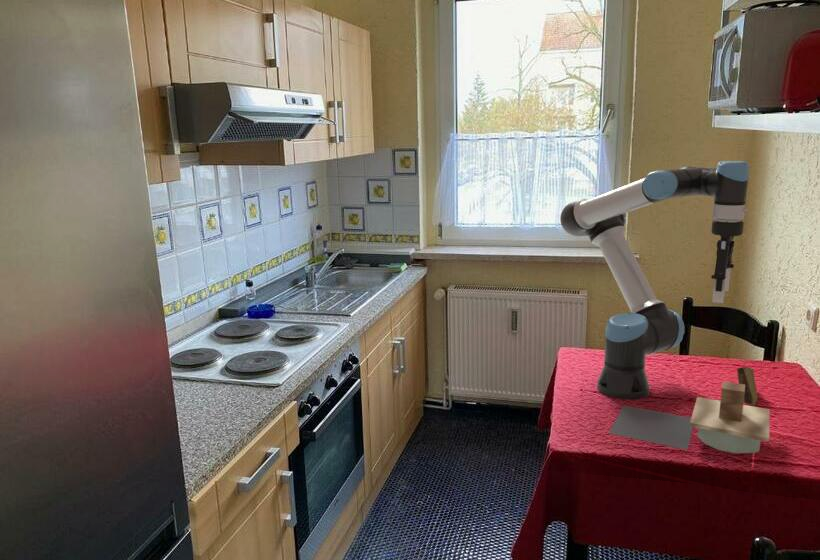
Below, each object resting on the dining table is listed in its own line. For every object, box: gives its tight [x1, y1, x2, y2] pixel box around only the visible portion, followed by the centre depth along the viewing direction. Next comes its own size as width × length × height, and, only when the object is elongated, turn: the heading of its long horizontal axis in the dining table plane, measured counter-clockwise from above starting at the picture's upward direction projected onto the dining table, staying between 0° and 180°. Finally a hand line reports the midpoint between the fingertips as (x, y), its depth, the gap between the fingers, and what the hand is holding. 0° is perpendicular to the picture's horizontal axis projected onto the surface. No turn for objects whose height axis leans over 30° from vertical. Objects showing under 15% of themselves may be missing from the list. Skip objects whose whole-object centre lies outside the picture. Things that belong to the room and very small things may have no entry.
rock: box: [736, 365, 759, 406], centre depth 181 cm, size 11×9×10 cm
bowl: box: [697, 428, 762, 455], centre depth 156 cm, size 14×14×6 cm
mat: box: [608, 405, 694, 451], centre depth 165 cm, size 19×19×1 cm
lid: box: [690, 380, 771, 443], centre depth 154 cm, size 17×17×9 cm
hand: (720, 296), depth 170 cm, fingers open, 13 cm apart
